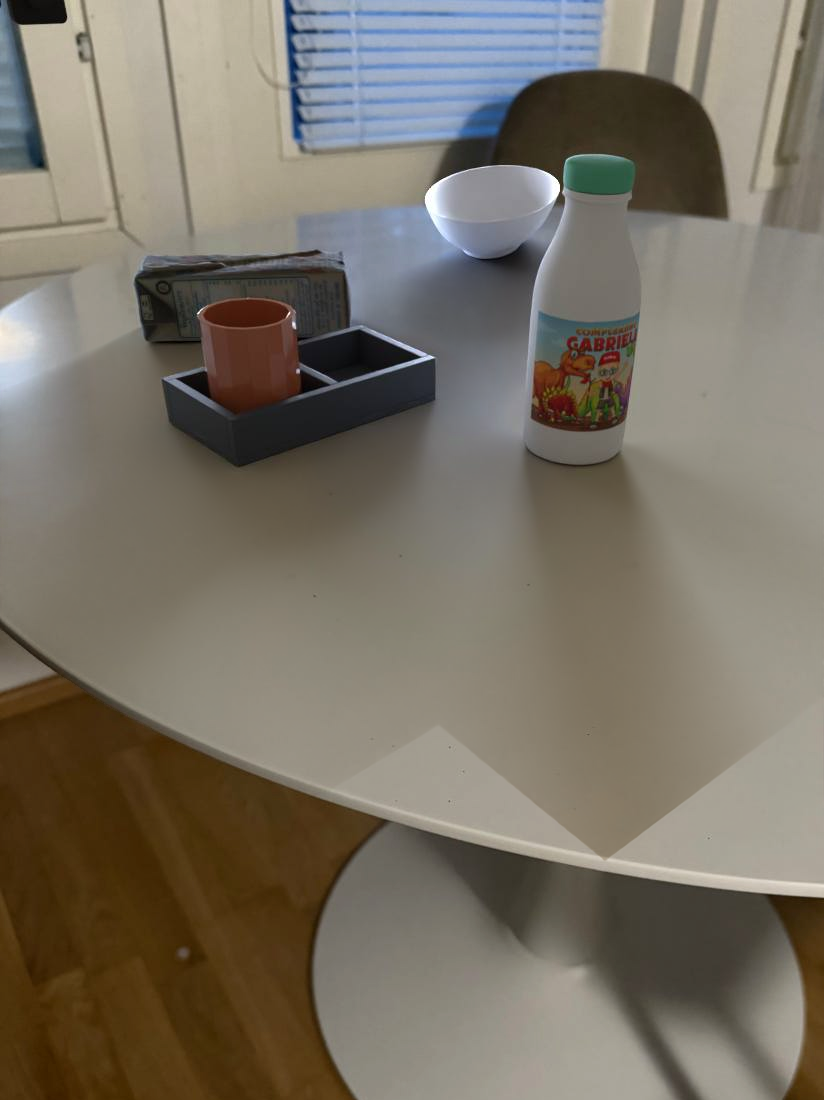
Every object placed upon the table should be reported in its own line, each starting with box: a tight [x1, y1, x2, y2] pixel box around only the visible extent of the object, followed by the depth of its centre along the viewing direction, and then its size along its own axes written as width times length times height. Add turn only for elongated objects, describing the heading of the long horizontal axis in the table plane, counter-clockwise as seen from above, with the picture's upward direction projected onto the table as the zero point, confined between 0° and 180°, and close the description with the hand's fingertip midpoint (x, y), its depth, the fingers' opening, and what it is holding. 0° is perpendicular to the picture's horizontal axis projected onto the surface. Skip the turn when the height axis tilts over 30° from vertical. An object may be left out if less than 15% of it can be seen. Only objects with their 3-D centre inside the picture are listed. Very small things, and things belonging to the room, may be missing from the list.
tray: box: [161, 324, 437, 467], centre depth 76 cm, size 10×19×4 cm, turn 133°
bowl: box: [424, 164, 560, 260], centre depth 116 cm, size 30×15×6 cm, turn 167°
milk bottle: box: [522, 153, 642, 466], centre depth 67 cm, size 8×8×20 cm
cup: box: [197, 298, 302, 414], centre depth 71 cm, size 7×7×8 cm
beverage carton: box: [132, 249, 353, 343], centre depth 89 cm, size 8×19×7 cm, turn 98°
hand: (7, 16), depth 59 cm, fingers open, 9 cm apart
